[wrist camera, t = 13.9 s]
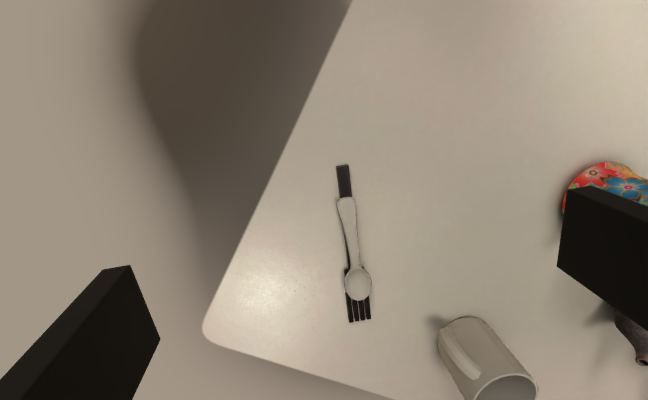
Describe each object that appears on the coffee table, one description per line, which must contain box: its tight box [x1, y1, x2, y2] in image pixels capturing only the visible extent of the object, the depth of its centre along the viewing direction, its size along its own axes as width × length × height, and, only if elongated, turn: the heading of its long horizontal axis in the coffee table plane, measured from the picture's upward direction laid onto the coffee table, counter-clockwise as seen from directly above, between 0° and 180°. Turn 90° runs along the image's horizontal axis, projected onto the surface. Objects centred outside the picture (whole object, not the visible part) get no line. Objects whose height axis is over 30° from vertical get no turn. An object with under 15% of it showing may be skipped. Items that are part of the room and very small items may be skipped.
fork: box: [336, 165, 371, 323], centre depth 37 cm, size 19×3×1 cm, turn 7°
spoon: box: [337, 197, 372, 301], centre depth 36 cm, size 3×12×2 cm, turn 9°
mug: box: [562, 162, 648, 217], centre depth 33 cm, size 12×9×11 cm
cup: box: [437, 317, 538, 400], centre depth 39 cm, size 7×10×9 cm
